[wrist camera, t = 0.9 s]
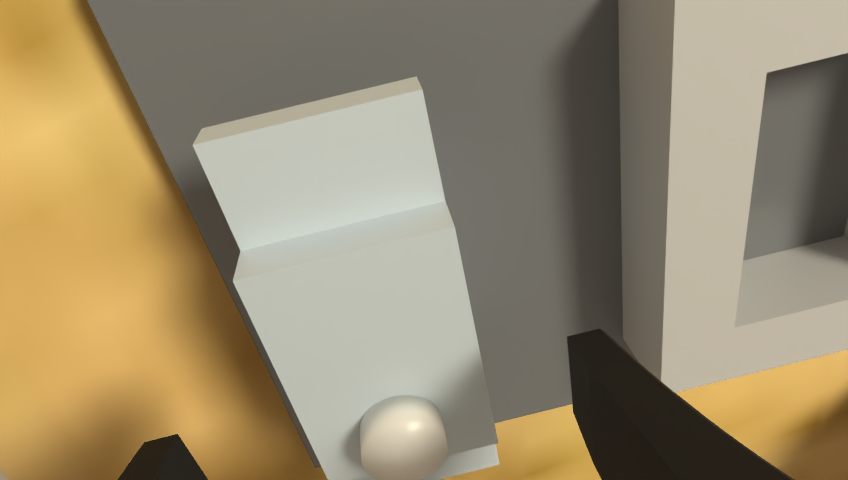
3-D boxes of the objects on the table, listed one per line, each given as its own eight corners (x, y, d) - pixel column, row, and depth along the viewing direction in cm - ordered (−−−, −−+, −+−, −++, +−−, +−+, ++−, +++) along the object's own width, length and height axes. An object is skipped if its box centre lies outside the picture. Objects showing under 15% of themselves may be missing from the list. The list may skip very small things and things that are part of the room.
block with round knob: (400, 41, 13) (439, 125, 8) (471, 369, 18) (518, 528, 14) (226, 84, 13) (166, 192, 8) (350, 398, 18) (355, 568, 14)
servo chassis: (1003, -255, 12) (1218, -301, 9) (851, 310, 21) (938, 380, 18) (90, -36, 12) (11, -13, 9) (316, 444, 21) (313, 537, 18)
